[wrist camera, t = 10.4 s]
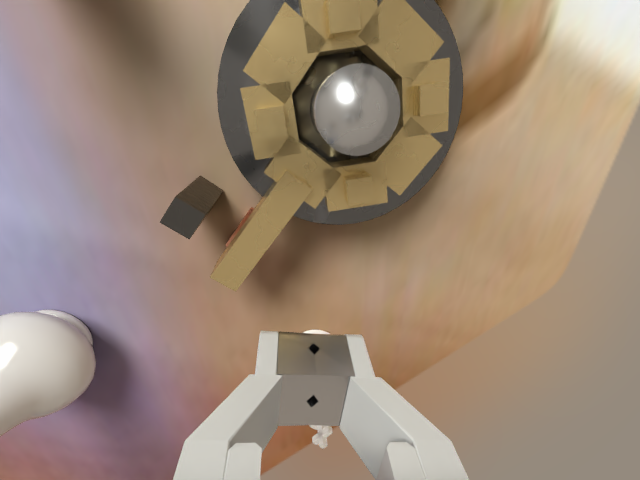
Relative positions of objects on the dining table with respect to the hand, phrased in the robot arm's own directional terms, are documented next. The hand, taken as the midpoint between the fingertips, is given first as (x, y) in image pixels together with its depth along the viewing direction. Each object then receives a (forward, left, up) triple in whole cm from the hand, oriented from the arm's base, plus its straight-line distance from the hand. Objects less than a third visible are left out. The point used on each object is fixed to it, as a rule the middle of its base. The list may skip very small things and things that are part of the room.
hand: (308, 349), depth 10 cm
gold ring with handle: (-3, -1, -15) cm, 15 cm away
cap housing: (-4, -1, -18) cm, 18 cm away
